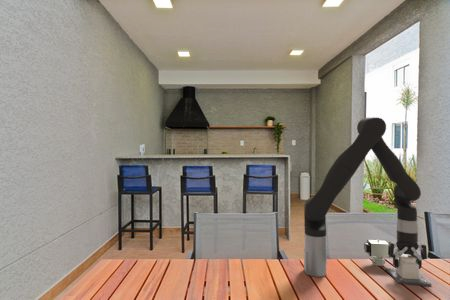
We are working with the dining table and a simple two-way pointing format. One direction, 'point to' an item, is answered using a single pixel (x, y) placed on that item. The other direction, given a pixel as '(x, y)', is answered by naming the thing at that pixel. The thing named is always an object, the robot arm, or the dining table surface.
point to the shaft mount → (401, 280)
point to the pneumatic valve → (377, 251)
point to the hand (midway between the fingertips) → (407, 267)
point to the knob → (408, 267)
